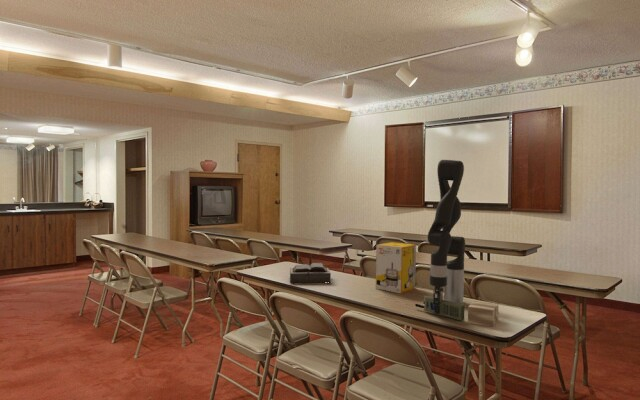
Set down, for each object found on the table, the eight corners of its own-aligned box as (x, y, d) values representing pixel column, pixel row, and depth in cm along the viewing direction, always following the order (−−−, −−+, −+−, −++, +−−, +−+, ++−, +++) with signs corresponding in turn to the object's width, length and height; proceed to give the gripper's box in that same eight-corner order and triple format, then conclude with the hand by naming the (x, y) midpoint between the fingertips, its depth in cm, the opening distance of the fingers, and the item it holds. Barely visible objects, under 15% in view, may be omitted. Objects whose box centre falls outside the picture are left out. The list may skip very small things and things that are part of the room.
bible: (329, 286, 260) (329, 269, 260) (283, 284, 264) (284, 267, 263) (333, 277, 283) (333, 262, 283) (291, 276, 287) (291, 260, 286)
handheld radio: (461, 321, 192) (413, 308, 211) (465, 319, 194) (417, 307, 213) (461, 306, 191) (413, 294, 210) (465, 304, 194) (417, 293, 212)
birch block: (474, 316, 202) (475, 300, 202) (498, 320, 197) (498, 304, 197) (467, 322, 192) (468, 306, 192) (492, 327, 187) (492, 310, 186)
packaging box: (415, 288, 255) (416, 244, 255) (401, 293, 243) (402, 247, 242) (390, 284, 266) (391, 242, 265) (375, 288, 253) (376, 244, 252)
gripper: (445, 278, 193) (444, 318, 194) (449, 272, 206) (448, 309, 207) (427, 276, 196) (426, 315, 197) (432, 271, 209) (431, 307, 210)
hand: (437, 312), depth 202 cm, fingers closed on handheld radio, 3 cm apart
